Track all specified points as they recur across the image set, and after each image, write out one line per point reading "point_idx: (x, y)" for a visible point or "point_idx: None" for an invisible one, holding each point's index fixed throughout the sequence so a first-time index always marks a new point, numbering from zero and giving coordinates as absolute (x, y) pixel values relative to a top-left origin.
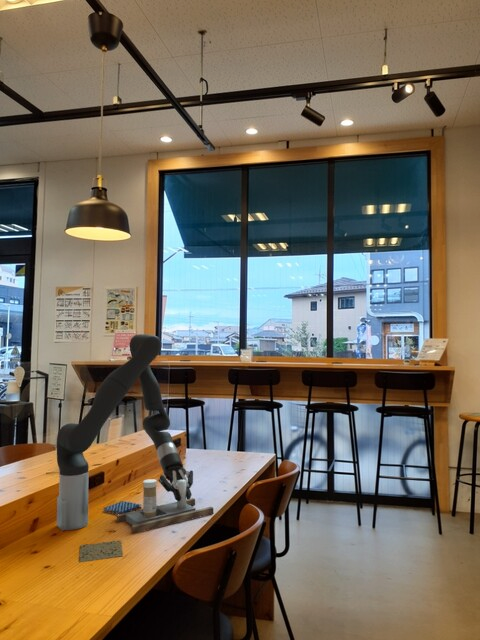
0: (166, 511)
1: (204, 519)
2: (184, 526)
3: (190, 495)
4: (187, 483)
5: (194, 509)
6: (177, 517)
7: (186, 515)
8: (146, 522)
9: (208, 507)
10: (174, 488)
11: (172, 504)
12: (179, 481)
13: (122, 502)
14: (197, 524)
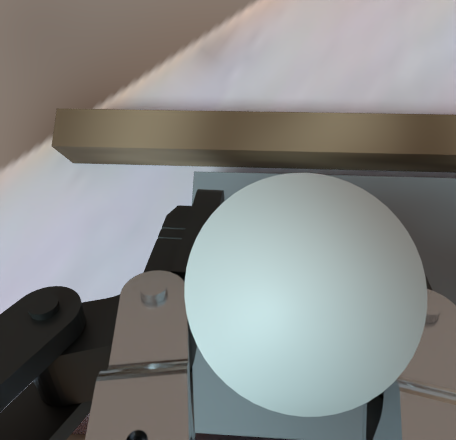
0: None
1: (205, 69)
2: (397, 39)
3: (203, 189)
4: (132, 315)
5: (206, 174)
6: (418, 118)
7: (328, 117)
8: None
9: (82, 140)
10: (447, 301)
11: (311, 434)
12: (379, 271)
13: None
14: (301, 18)
